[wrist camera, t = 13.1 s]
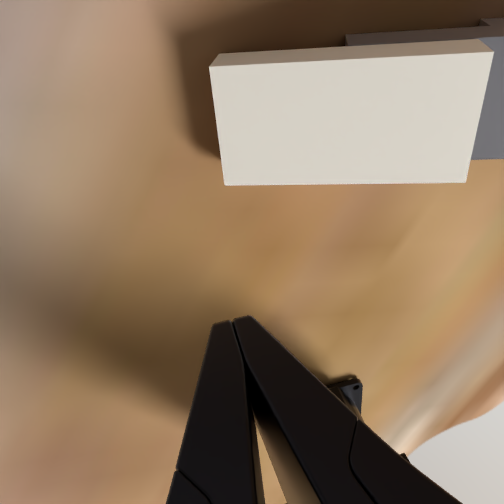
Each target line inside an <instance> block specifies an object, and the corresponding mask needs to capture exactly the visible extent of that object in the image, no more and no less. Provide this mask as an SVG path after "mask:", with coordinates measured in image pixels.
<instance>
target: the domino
mask: <svg viewBox="0 0 504 504" xmlns="http://www.w3.org/2000/svg"><path fill="white" fill-rule="evenodd" d="M467 39H479V40H480V41H482V42H483V43H484V44H485V45H487V46H488V47H489V48H490V49H491V50H493V51H494V55H493V59H492V64H491V68H490V73H489V77H488V82H487V87H486V91H485V96H484V100H483V105H482V109H481V114H480V119H479V123H478V128H477V132H476V137H475V142H474V146H473V151H472V155H471V160H478V159H504V25H495V26H479V27H462V28H446V29H429V30H413V31H396V32H379V33H363V34H346V36H345V46H362V45H379V44H397V43H414V42H432V41H449V40H467Z"/></svg>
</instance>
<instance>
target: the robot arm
mask: <svg viewBox="0 0 504 504" xmlns="http://www.w3.org/2000/svg"><path fill="white" fill-rule="evenodd" d="M362 387H363V385H362V383H361V381H360V380H359V379H352V380H348V381H344V382H341V383H337V384H333V385H330V386H325V385H324V384H323V383H322V382H321V381H320V380H319V379H318V378H317V377H316V376H315V375H313V374H312V373H311V372H310V371H309V370H308V369H307V368H306V367H305V366H304V365H303V364H302V363H301V362H300V361H299V360H298V359H297V358H296V357H295V356H294V355H293V354H291V353H290V352H289V351H288V350H287V349H286V348H285V347H284V346H283V345H282V344H281V343H280V342H279V341H278V340H277V339H276V338H275V337H274V336H273V335H272V334H271V333H269V332H268V331H267V330H266V329H265V328H264V327H263V326H262V325H261V324H260V323H259V322H258V321H257V320H256V319H255V318H254V317H252V316H251V315H247V316H243V317H239V318H235V319H234V320H233V322H232V321H230V320H227V321H222V322H218V323H215V324H213V325H212V327H211V331H210V335H209V339H208V343H207V346H206V350H205V354H204V358H203V362H202V366H201V370H200V374H199V378H198V382H197V386H196V389H195V393H194V397H193V401H192V405H191V409H190V413H189V417H188V421H187V425H186V429H185V433H184V436H183V440H182V444H181V448H180V452H179V456H178V460H177V464H176V470H177V471H175V472H174V475H173V479H172V483H171V486H170V490H169V494H168V497H167V501H166V504H265V498H264V490H263V482H262V474H261V466H260V458H259V450H258V442H257V434H256V427H255V420H256V423H257V426H258V429H259V432H260V434H261V437H262V439H263V442H264V444H265V447H266V450H267V452H268V455H269V457H270V460H271V462H272V465H273V468H274V470H275V473H276V475H277V478H278V480H279V483H280V485H281V488H282V491H283V493H284V496H285V498H286V501H287V503H286V504H462V503H461V502H460V501H458V500H457V499H456V498H454V497H453V496H452V495H450V494H449V493H448V492H446V491H445V490H444V489H442V488H441V487H440V486H439V485H437V484H436V483H435V482H433V481H432V480H431V479H429V478H428V477H427V476H426V475H424V474H423V473H422V472H420V471H419V470H418V469H417V468H415V467H414V466H413V465H412V464H411V463H410V462H409V460H408V458H407V456H406V455H405V453H402V454H400V455H399V454H398V453H397V452H396V451H395V450H393V449H392V448H391V447H390V446H389V445H388V444H387V443H386V442H384V441H383V440H382V439H381V438H380V437H379V436H378V435H377V434H376V433H374V432H373V431H372V430H371V429H370V428H369V427H368V426H367V425H366V424H365V423H364V421H363V419H362V417H361V403H362ZM253 414H254V415H253ZM254 417H255V420H254Z"/></svg>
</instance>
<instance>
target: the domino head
mask: <svg viewBox="0 0 504 504" xmlns="http://www.w3.org/2000/svg"><path fill="white" fill-rule="evenodd" d="M493 55H494V51H493V50H491V49H490V48H489V47H488V46H487V45H485V44H484V43H483V42H482V41H480V40H479V39H467V40H449V41H432V42H414V43H397V44H379V45H362V46H344V47H327V48H309V49H292V50H274V51H257V52H239V53H222V54H218V56H217V57H216V58H215V60H214V61H213V62H212V63H211V65H210V66H209V71H210V78H211V86H212V93H213V101H214V108H215V116H216V124H217V131H218V139H219V146H220V154H221V162H222V169H223V177H224V184H225V185H309V184H395V183H466V178H467V174H468V169H469V164H470V160H471V155H472V151H473V146H474V142H475V137H476V132H477V128H478V123H479V119H480V114H481V109H482V105H483V100H484V96H485V91H486V87H487V82H488V77H489V73H490V68H491V64H492V59H493Z"/></svg>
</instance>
